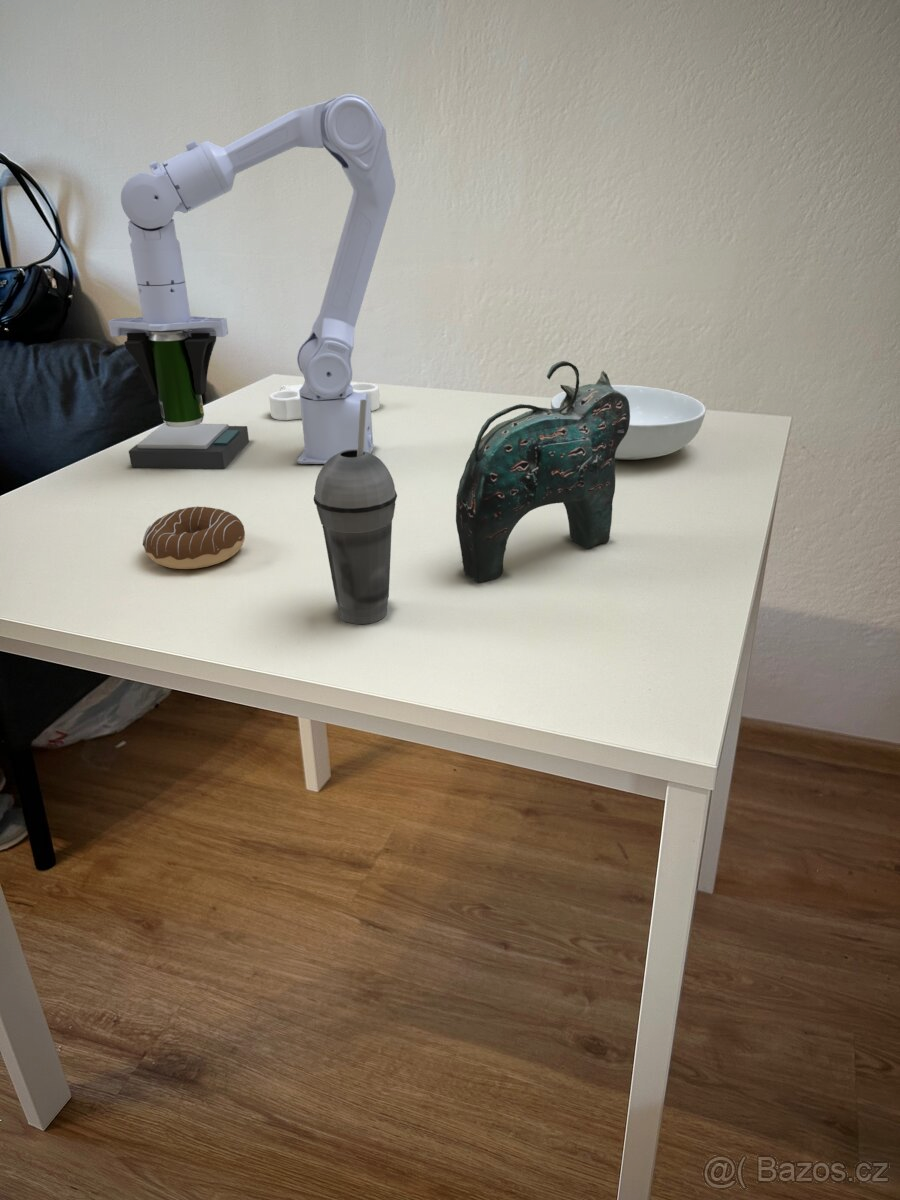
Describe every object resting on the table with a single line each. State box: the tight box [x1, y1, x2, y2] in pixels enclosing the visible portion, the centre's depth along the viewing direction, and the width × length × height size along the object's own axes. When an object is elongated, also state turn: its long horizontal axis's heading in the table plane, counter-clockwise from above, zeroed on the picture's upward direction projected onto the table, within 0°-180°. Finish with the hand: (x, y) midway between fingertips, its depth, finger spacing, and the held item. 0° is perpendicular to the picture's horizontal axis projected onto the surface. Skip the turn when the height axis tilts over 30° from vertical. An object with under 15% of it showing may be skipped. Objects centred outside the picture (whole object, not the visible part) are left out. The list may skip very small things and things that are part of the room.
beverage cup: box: [313, 399, 398, 625], centre depth 76 cm, size 7×7×20 cm
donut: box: [142, 506, 246, 570], centre depth 92 cm, size 11×11×4 cm
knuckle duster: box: [268, 381, 381, 421], centre depth 142 cm, size 3×18×15 cm
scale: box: [128, 422, 250, 470], centre depth 122 cm, size 13×12×3 cm
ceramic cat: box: [455, 360, 630, 584], centre depth 86 cm, size 20×6×20 cm, turn 124°
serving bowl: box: [550, 384, 707, 461], centre depth 120 cm, size 21×21×7 cm
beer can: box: [148, 330, 205, 427], centre depth 111 cm, size 5×5×12 cm
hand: (179, 392), depth 112 cm, fingers closed on beer can, 5 cm apart
